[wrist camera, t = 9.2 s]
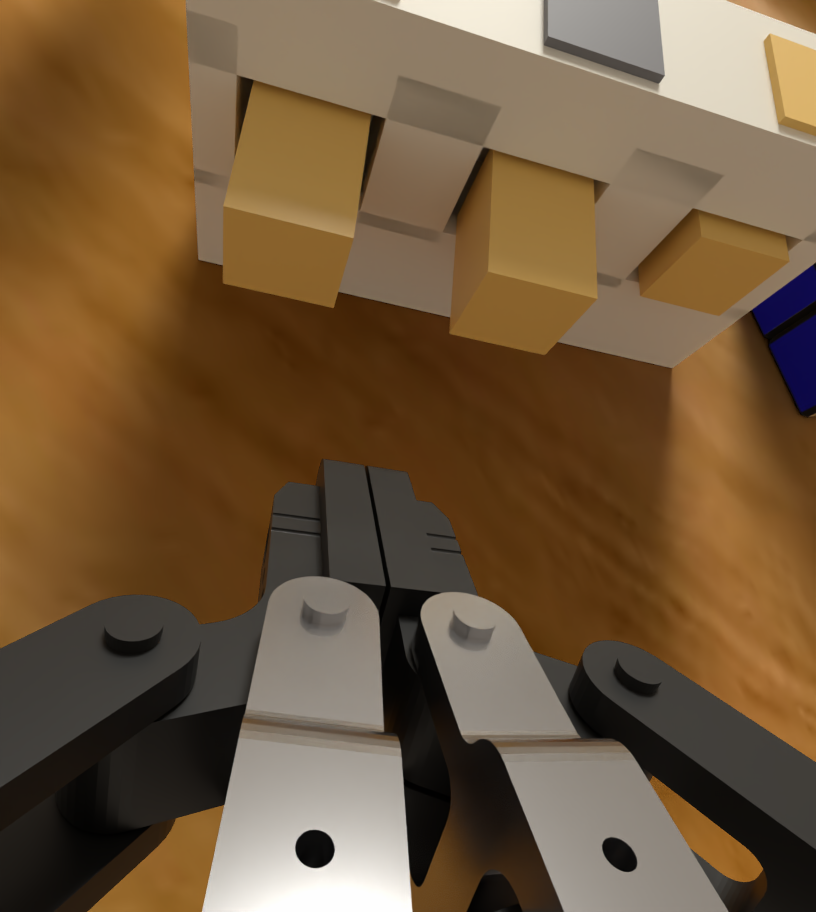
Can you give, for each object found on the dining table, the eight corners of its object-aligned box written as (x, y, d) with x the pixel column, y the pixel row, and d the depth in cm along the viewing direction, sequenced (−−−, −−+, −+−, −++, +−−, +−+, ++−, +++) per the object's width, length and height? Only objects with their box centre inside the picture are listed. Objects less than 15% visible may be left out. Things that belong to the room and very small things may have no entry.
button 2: (449, 333, 25) (488, 271, 21) (457, 215, 27) (493, 140, 23) (544, 355, 26) (597, 298, 22) (545, 238, 28) (593, 169, 24)
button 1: (222, 283, 23) (223, 205, 20) (250, 160, 25) (256, 70, 22) (333, 308, 24) (353, 238, 20) (351, 187, 26) (372, 104, 23)
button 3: (639, 296, 28) (701, 236, 25) (633, 193, 30) (689, 124, 27) (718, 316, 29) (789, 261, 26) (707, 214, 31) (771, 151, 28)
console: (198, 259, 30) (182, -75, 17) (222, 161, 32) (224, -200, 19) (672, 368, 35) (933, 176, 22) (665, 277, 38) (898, 55, 25)
